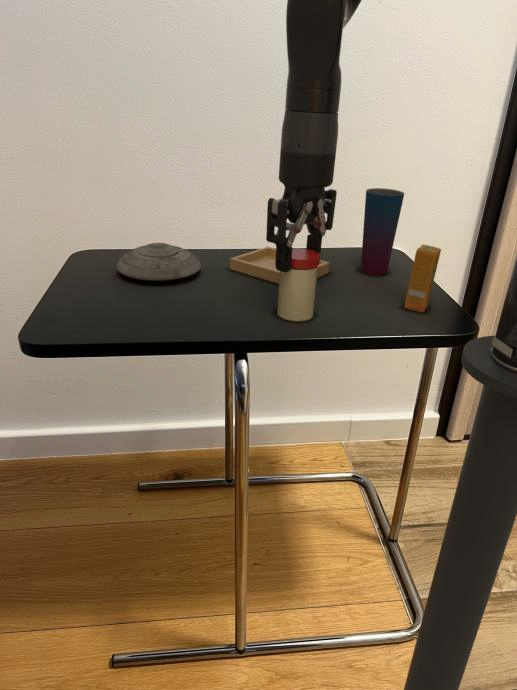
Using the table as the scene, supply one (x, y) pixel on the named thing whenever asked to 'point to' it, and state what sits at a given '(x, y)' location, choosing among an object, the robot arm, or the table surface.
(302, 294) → the jar
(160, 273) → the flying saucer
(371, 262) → the cup
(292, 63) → the robot arm
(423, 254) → the supplement box
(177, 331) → the table surface
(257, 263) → the tray
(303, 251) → the lid
